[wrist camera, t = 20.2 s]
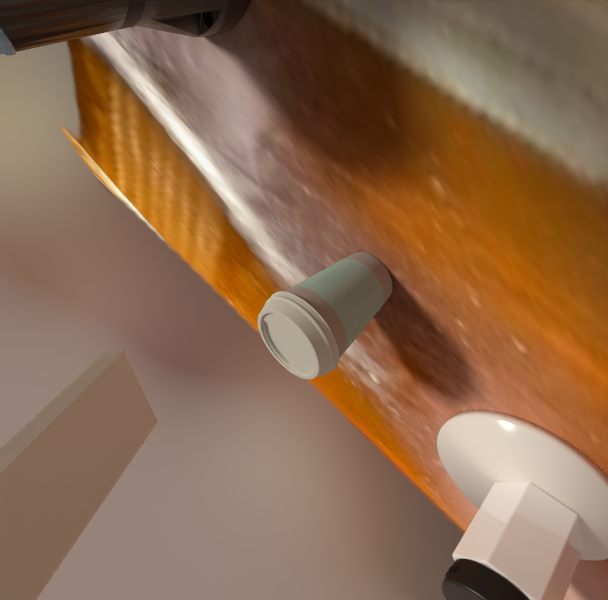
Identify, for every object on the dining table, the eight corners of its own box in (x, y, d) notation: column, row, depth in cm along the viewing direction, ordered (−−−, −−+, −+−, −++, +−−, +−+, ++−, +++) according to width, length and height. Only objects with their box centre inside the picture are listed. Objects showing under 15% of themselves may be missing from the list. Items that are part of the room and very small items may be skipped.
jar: (488, 465, 44) (428, 562, 38) (577, 497, 38) (523, 620, 32) (505, 522, 47) (453, 620, 41) (589, 560, 41) (543, 683, 35)
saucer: (418, 444, 53) (414, 450, 53) (491, 381, 39) (486, 388, 38) (548, 561, 47) (545, 568, 47) (689, 536, 33) (686, 547, 33)
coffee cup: (335, 227, 42) (246, 288, 36) (409, 257, 38) (321, 332, 32) (337, 292, 48) (260, 354, 42) (401, 325, 43) (326, 401, 37)
